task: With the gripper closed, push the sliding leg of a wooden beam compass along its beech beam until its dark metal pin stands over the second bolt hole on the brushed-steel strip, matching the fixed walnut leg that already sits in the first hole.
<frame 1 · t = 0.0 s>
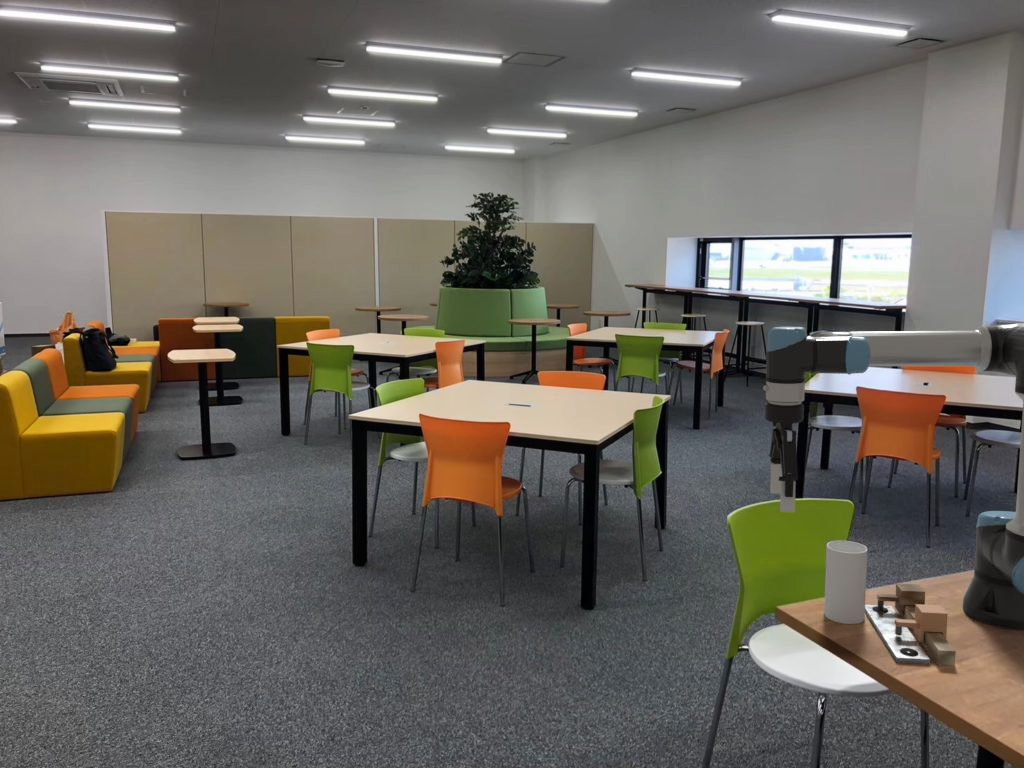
hand: (781, 502, 164), 28 cm above the table, fingers open, 13 cm apart
cup: (844, 616, 174), on the table
bolt strip: (893, 634, 164), on the table
sliding leg: (919, 623, 160), point 4 cm above the table, slide at 0.0 cm
fixed leg: (909, 615, 173), resting on bolt strip
beam: (924, 636, 163), on the table
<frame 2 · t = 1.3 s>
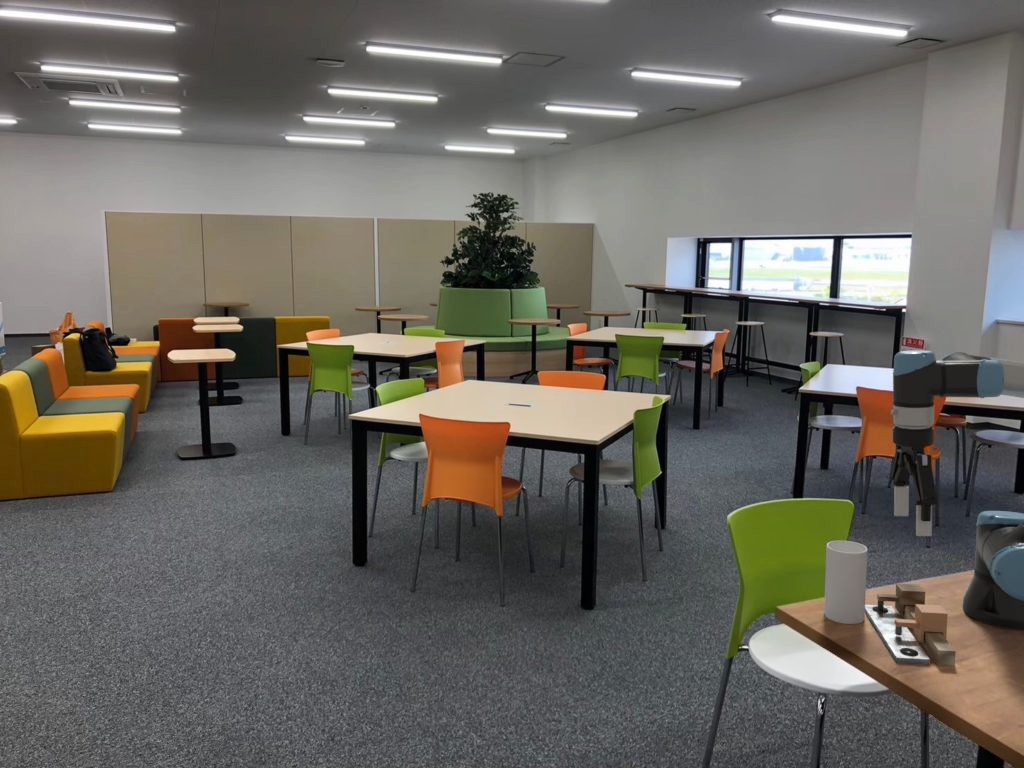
hand: (912, 525, 164), 23 cm above the table, fingers open, 13 cm apart
nothing on the table moved.
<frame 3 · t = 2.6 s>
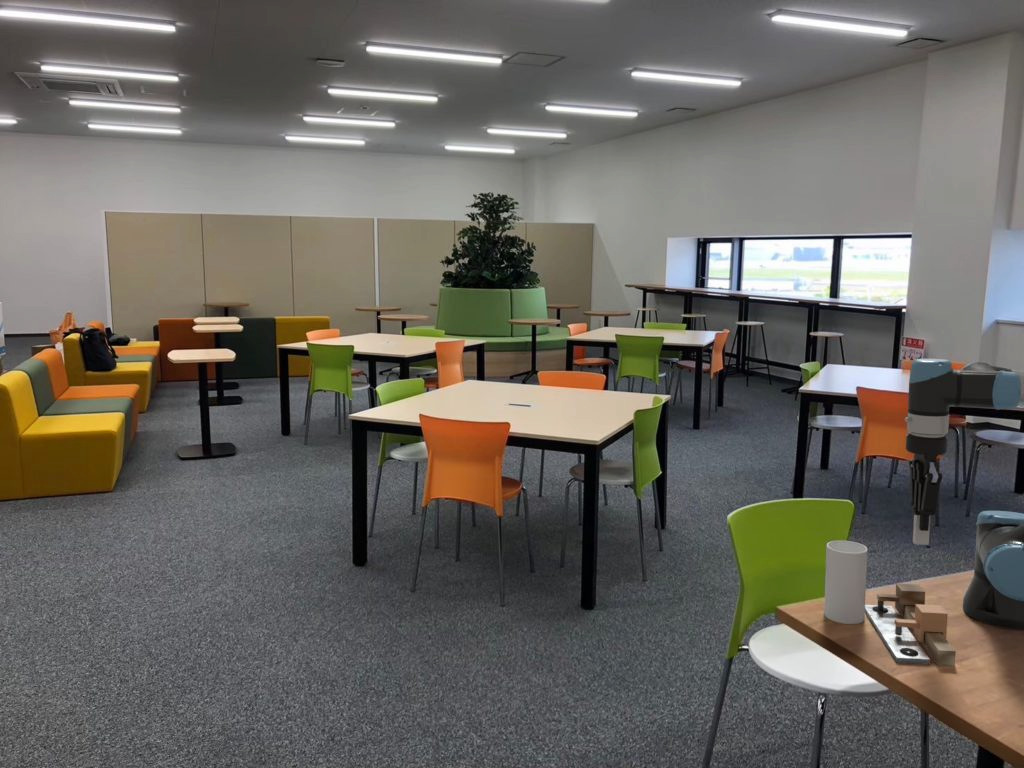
hand: (920, 543, 165), 18 cm above the table, fingers closed
nothing on the table moved.
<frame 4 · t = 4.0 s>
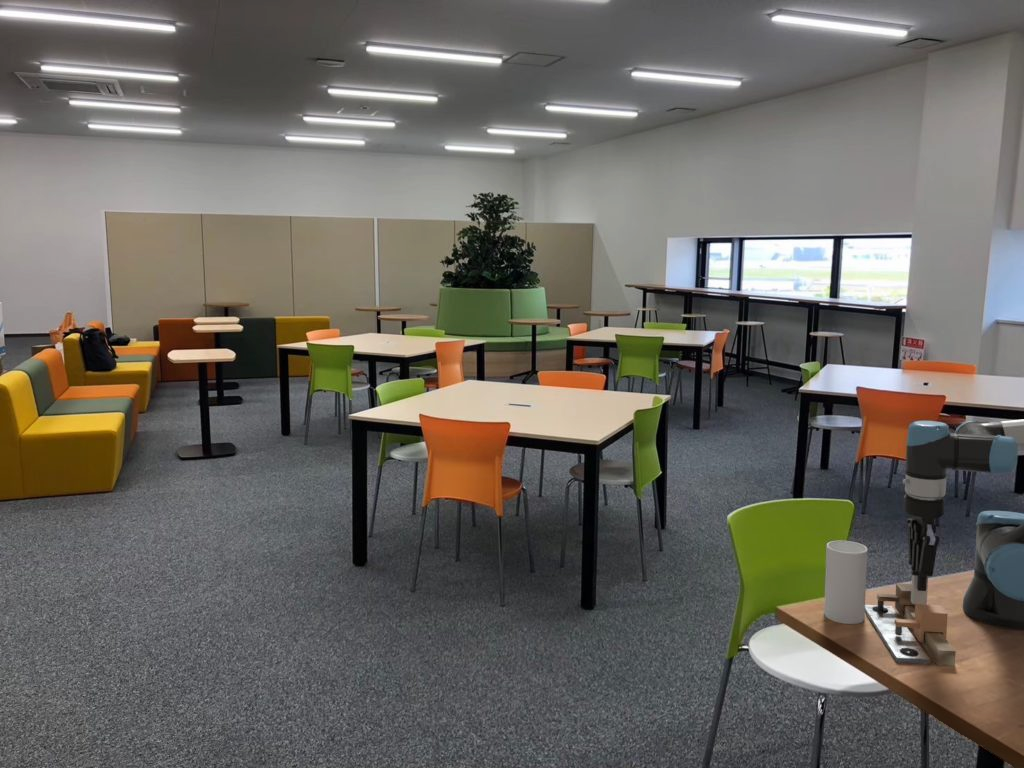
hand: (918, 602, 167), 5 cm above the table, fingers closed
nothing on the table moved.
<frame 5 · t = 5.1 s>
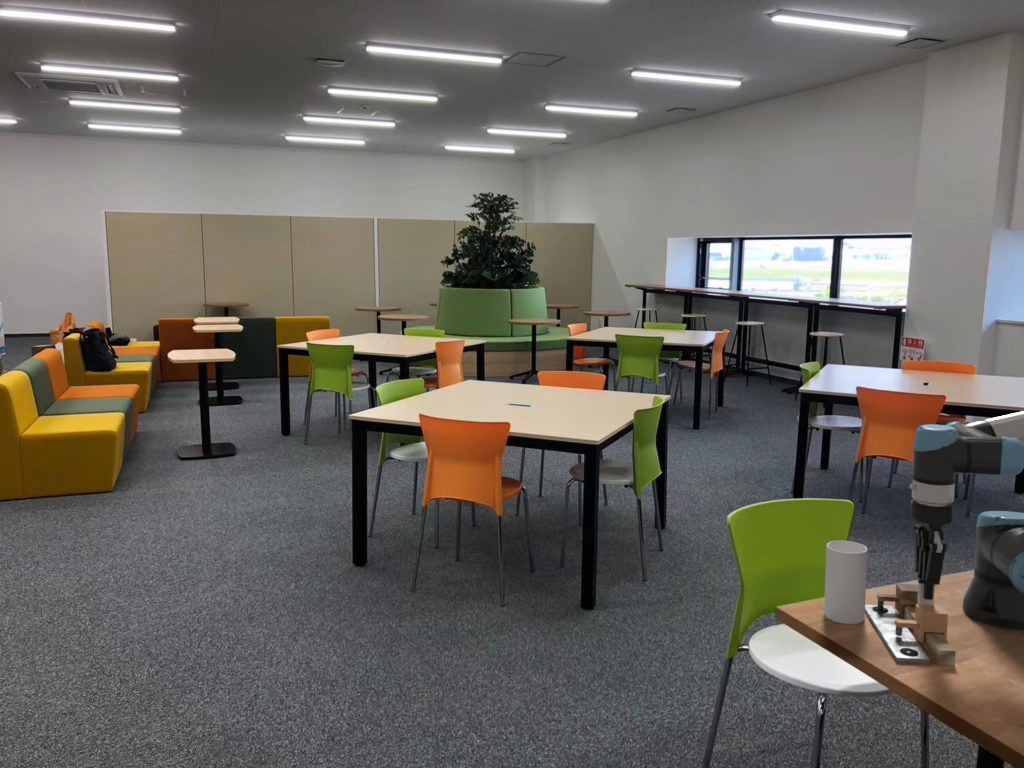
hand: (924, 611, 162), 6 cm above the table, fingers closed
sliding leg: (919, 623, 160), point 4 cm above the table, slide at 0.2 cm, touching gripper
everything else where it was.
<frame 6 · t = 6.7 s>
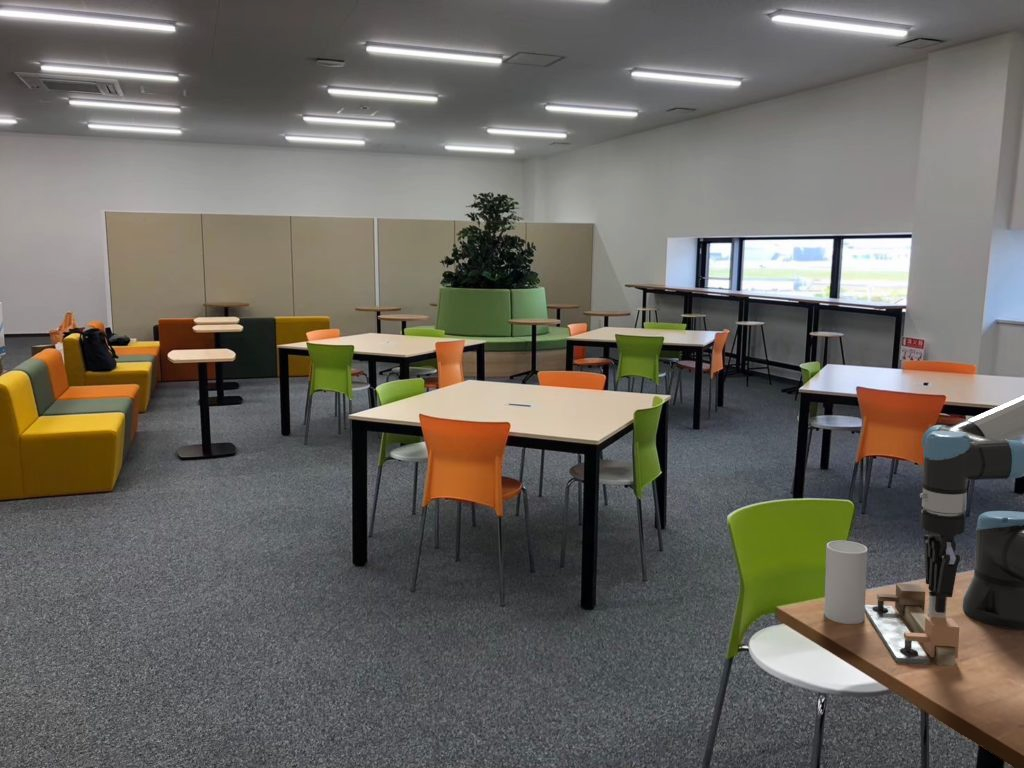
hand: (936, 624, 156), 5 cm above the table, fingers closed
sliding leg: (929, 636, 154), point 4 cm above the table, slide at 6.2 cm, touching gripper
everything else where it was.
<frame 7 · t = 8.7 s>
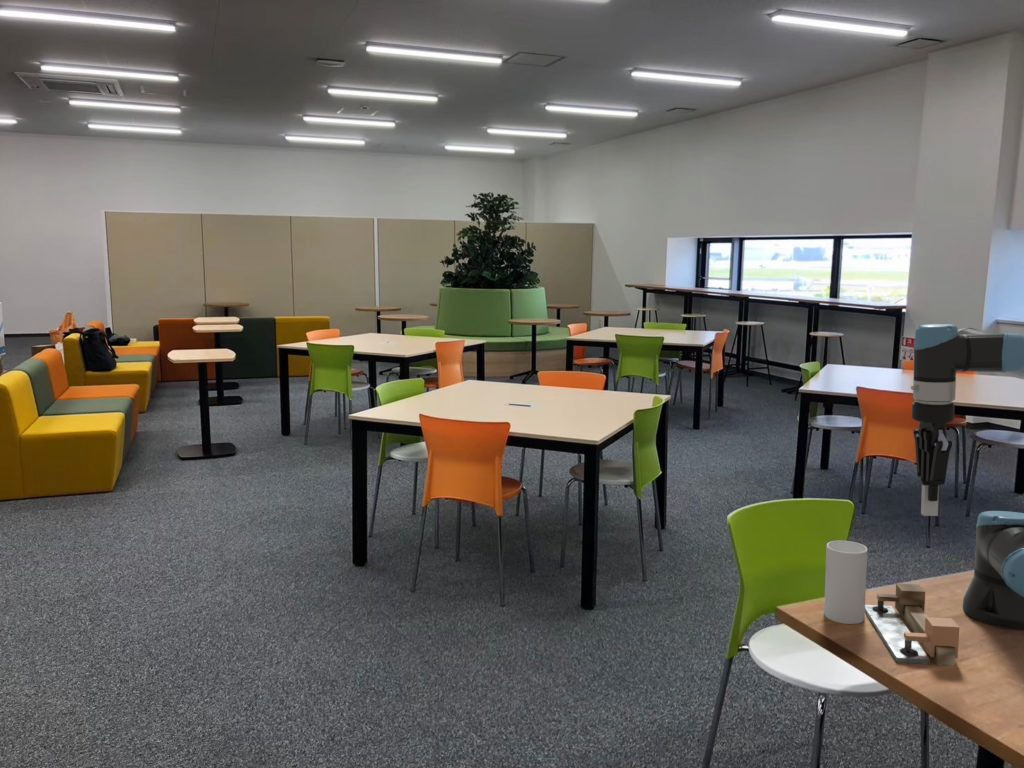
hand: (929, 514, 161), 26 cm above the table, fingers closed
sliding leg: (929, 636, 154), point 4 cm above the table, slide at 6.2 cm
everything else where it was.
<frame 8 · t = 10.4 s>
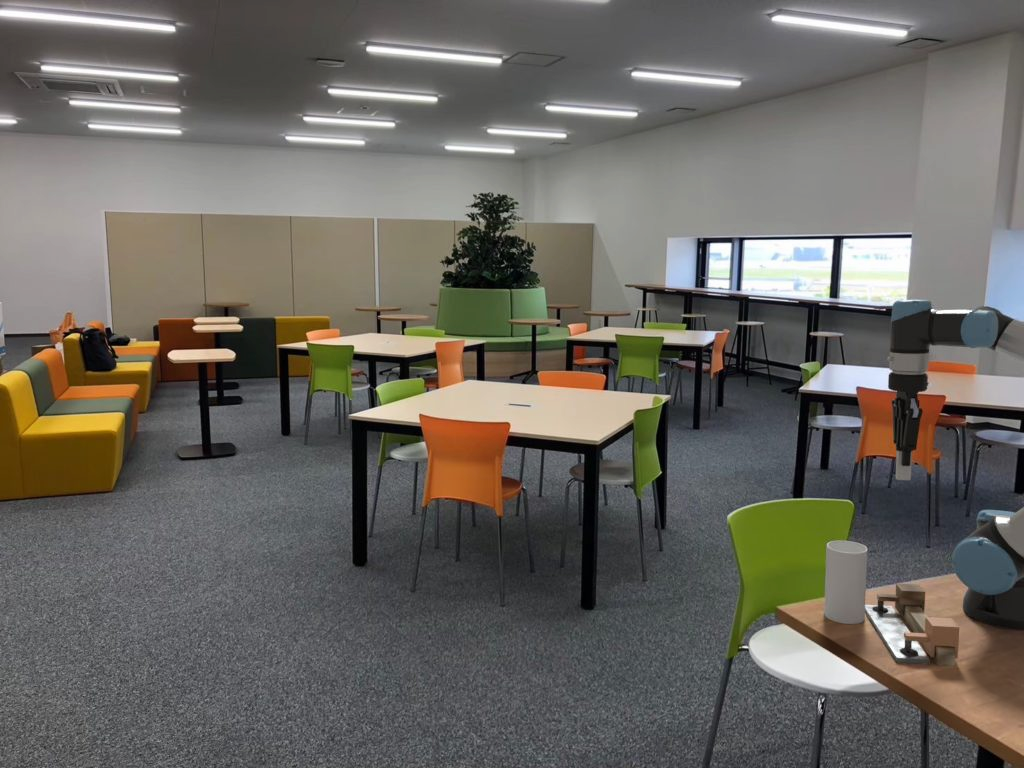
hand: (903, 479, 171), 30 cm above the table, fingers closed
nothing on the table moved.
at the end: sliding leg slide at 6.2 cm; sliding leg moved 6.2 cm from its start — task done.
